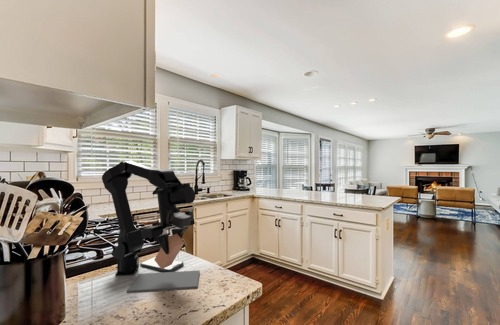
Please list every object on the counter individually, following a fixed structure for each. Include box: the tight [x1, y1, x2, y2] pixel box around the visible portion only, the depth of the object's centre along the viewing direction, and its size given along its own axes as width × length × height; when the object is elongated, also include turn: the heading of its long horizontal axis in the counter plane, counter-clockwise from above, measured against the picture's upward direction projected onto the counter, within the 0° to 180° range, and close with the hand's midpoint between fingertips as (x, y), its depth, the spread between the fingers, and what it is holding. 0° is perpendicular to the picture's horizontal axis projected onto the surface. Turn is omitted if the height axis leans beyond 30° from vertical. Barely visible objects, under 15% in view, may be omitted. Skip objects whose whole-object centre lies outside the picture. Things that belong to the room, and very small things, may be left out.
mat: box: [126, 270, 200, 293], centre depth 87 cm, size 22×12×1 cm, turn 98°
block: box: [154, 234, 185, 269], centre depth 86 cm, size 4×4×11 cm
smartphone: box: [139, 256, 185, 273], centre depth 100 cm, size 9×2×16 cm
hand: (172, 251), depth 85 cm, fingers closed on block, 4 cm apart
